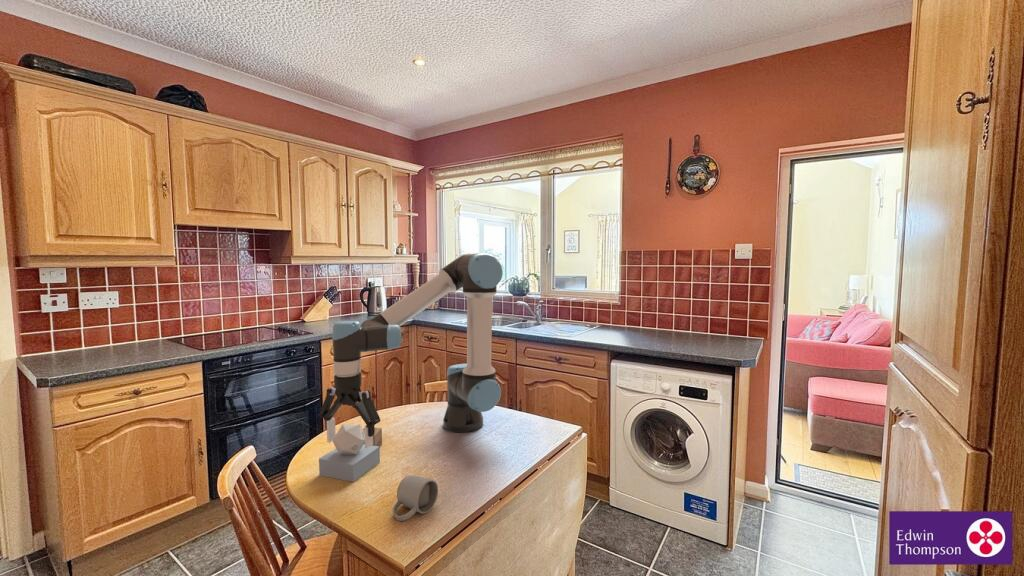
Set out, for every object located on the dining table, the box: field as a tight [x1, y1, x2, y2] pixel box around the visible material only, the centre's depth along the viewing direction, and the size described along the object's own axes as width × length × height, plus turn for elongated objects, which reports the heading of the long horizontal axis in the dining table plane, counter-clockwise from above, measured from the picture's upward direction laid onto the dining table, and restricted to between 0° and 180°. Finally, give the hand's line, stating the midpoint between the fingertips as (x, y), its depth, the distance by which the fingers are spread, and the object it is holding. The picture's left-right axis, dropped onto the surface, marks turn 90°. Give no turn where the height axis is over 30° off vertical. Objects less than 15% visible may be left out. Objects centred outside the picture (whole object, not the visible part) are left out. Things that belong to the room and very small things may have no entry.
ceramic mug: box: [392, 474, 439, 522], centre depth 103 cm, size 11×8×8 cm
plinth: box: [318, 444, 381, 483], centre depth 123 cm, size 12×12×5 cm
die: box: [331, 423, 365, 455], centre depth 123 cm, size 8×9×10 cm
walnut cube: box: [362, 427, 383, 448], centre depth 137 cm, size 6×6×6 cm
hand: (349, 443), depth 123 cm, fingers open, 13 cm apart
